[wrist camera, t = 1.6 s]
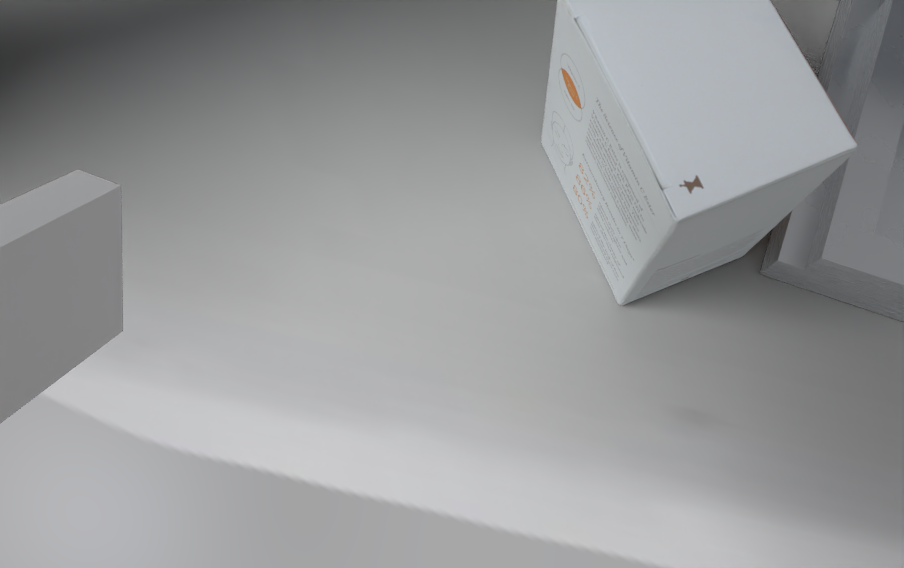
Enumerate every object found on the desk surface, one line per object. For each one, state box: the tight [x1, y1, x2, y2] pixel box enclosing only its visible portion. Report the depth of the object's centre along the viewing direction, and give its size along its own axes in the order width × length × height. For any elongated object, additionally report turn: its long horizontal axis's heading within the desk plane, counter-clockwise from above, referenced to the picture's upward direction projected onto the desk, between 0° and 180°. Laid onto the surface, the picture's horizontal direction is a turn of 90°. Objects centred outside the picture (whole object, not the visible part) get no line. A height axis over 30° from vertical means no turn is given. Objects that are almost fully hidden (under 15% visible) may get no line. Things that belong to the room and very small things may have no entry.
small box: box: [541, 0, 858, 306], centre depth 26 cm, size 8×6×10 cm
